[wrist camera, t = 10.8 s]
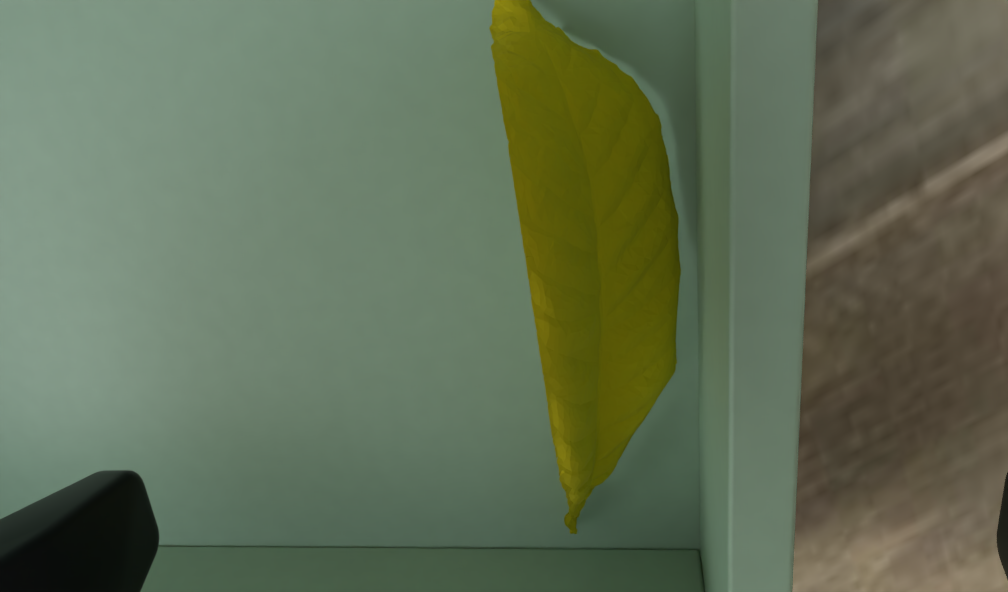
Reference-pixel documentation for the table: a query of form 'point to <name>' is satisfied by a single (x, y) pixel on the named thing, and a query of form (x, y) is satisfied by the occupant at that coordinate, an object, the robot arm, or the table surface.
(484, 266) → the shallow green tray
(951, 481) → the table surface
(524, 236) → the decorative leaf
